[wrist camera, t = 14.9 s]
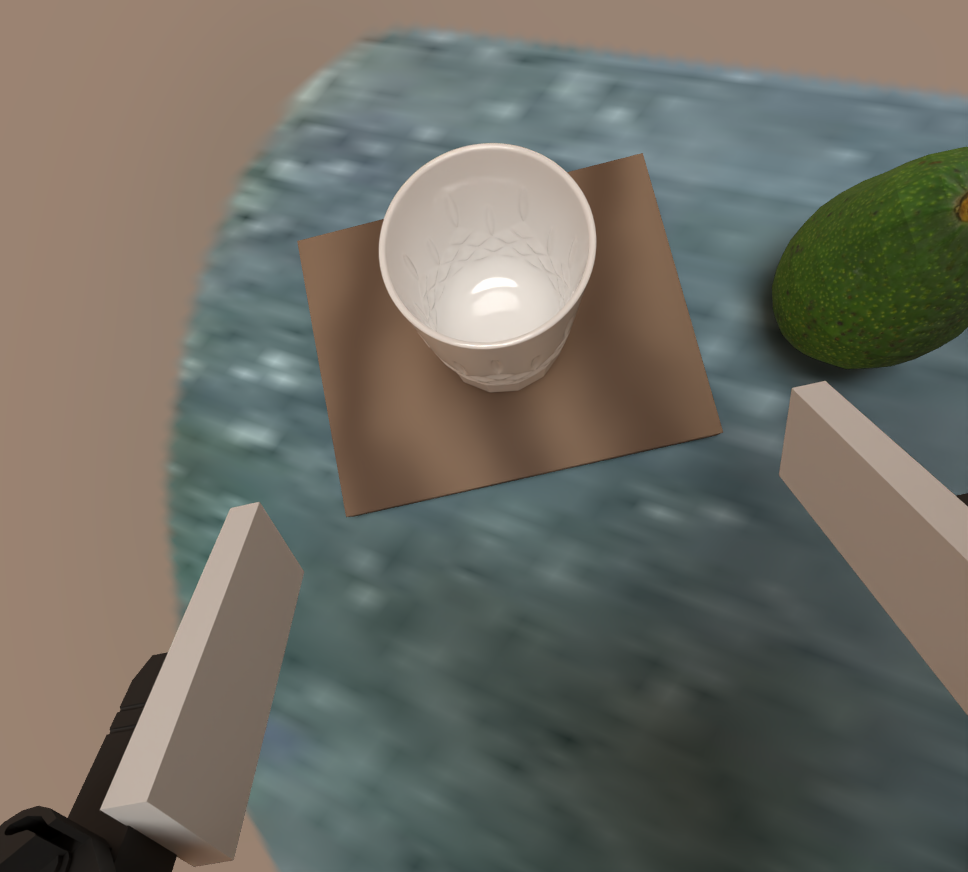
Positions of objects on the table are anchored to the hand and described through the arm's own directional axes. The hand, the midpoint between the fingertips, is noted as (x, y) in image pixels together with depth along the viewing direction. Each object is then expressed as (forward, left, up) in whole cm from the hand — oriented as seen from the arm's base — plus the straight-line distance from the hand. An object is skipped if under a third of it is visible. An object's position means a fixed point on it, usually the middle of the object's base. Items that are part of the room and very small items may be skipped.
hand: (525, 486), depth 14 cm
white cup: (-1, -9, -15) cm, 17 cm away
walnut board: (0, -9, -16) cm, 18 cm away
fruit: (-17, -6, -16) cm, 24 cm away
